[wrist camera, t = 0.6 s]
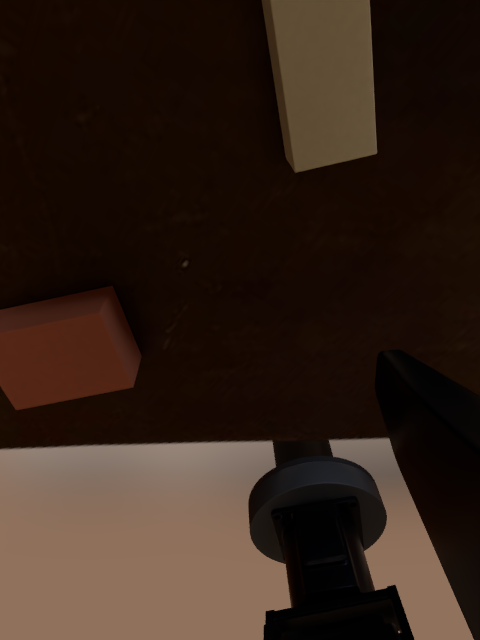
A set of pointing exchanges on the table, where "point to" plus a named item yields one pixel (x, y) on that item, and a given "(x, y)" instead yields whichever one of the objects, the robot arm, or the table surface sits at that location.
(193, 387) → the table surface
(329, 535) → the robot arm
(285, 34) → the beige letter-shaped block
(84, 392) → the reddish brown rectangular block
